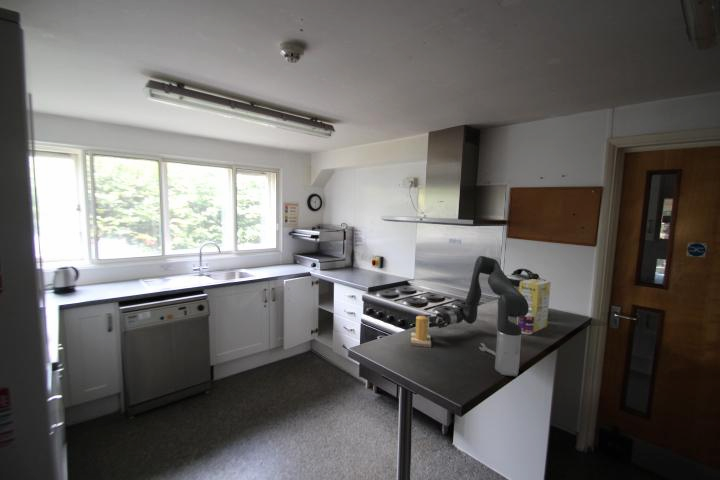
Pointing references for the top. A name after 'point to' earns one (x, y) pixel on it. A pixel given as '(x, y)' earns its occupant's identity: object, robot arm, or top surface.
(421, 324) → the octagonal lidded canister
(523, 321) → the pill bottle
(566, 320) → the top surface
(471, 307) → the robot arm
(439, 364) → the top surface
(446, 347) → the top surface
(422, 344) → the post board
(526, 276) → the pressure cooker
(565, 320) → the top surface
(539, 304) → the pasta box
